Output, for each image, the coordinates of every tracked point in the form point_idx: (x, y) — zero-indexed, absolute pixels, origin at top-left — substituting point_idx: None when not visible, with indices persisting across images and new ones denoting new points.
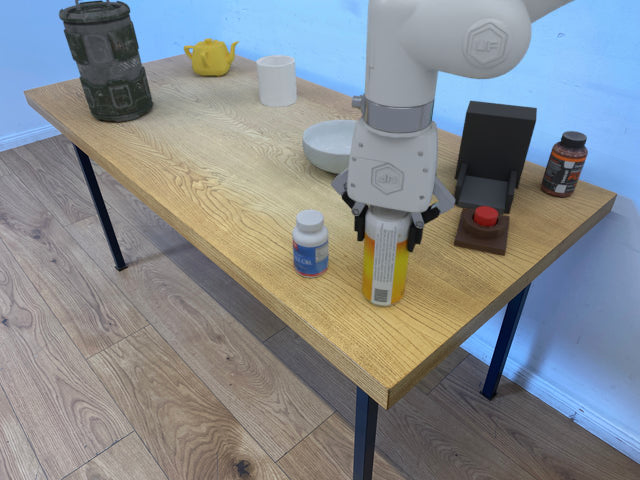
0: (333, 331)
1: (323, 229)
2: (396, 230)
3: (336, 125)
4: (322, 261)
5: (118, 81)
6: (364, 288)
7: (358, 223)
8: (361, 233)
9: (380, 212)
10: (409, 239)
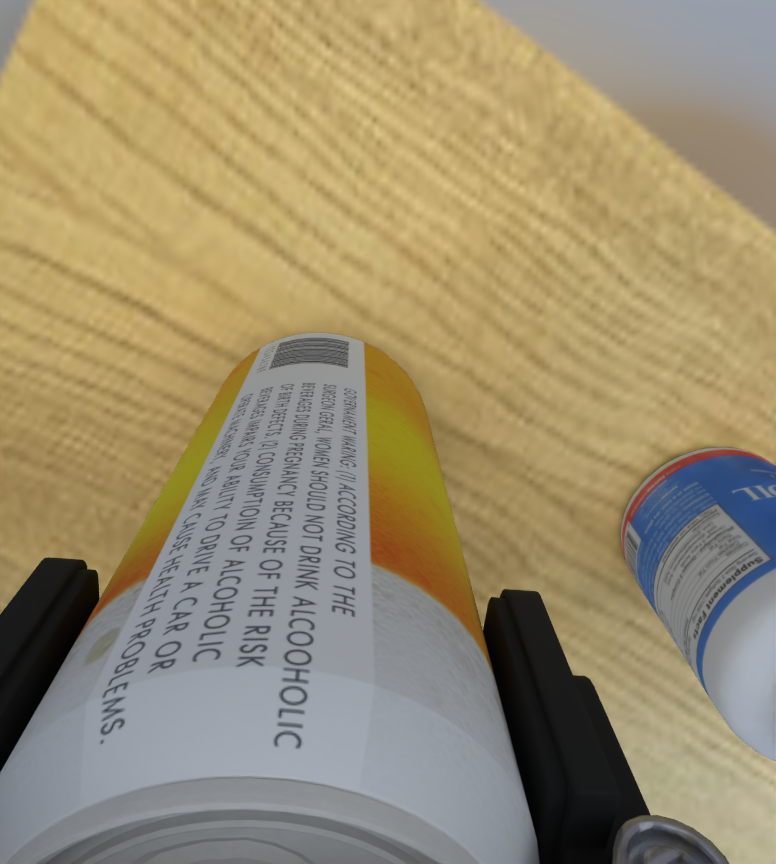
0: (524, 102)
1: (764, 703)
2: (108, 685)
3: None
4: (676, 526)
5: None
6: (412, 392)
7: (586, 729)
8: (520, 647)
9: None
10: (31, 647)
